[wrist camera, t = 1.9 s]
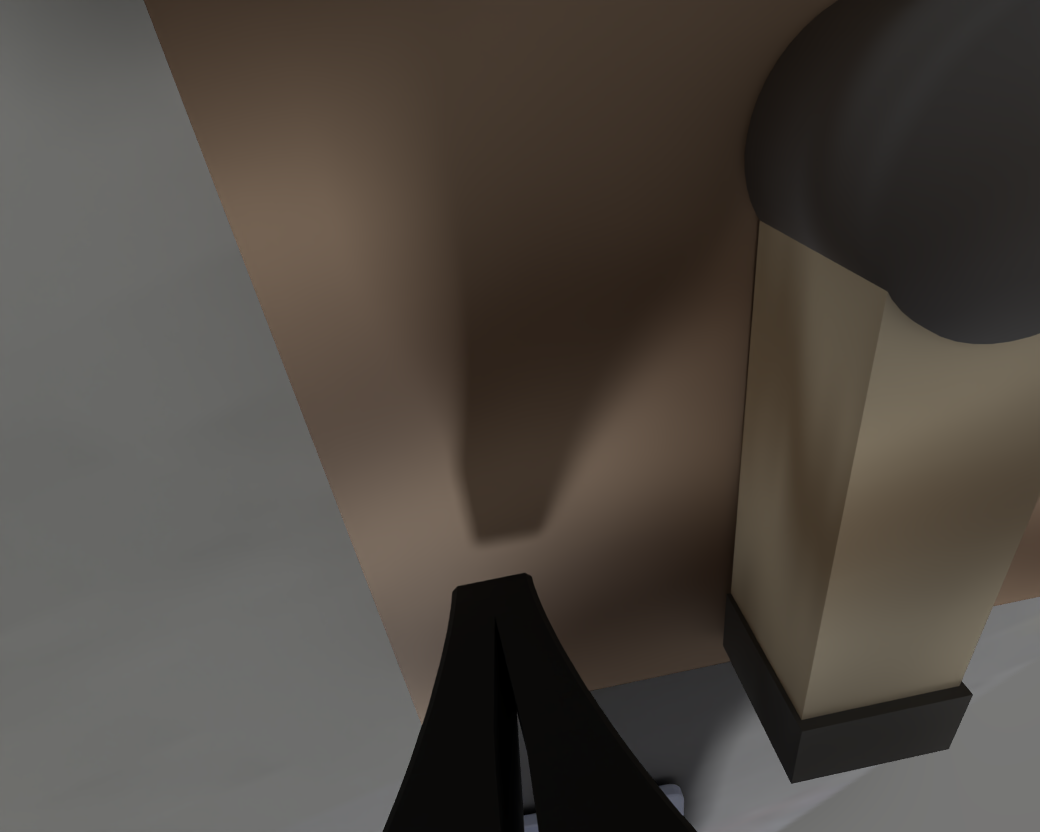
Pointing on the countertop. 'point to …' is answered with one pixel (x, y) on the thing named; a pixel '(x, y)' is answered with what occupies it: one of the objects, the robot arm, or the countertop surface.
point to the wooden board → (510, 292)
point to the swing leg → (886, 372)
